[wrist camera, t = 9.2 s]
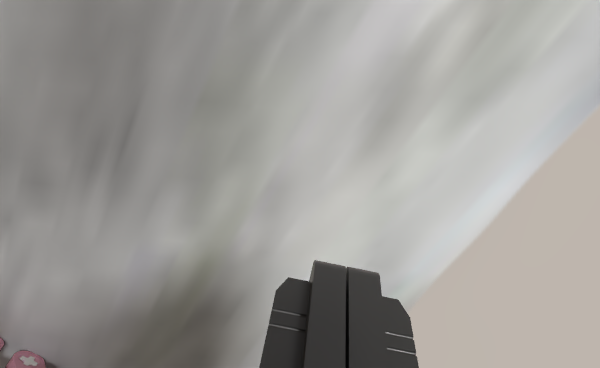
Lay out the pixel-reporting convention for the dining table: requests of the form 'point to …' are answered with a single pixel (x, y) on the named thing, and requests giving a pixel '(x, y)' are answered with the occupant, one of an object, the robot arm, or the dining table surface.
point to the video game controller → (24, 359)
